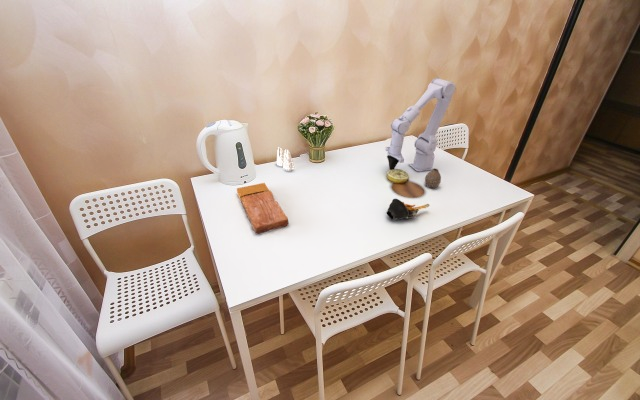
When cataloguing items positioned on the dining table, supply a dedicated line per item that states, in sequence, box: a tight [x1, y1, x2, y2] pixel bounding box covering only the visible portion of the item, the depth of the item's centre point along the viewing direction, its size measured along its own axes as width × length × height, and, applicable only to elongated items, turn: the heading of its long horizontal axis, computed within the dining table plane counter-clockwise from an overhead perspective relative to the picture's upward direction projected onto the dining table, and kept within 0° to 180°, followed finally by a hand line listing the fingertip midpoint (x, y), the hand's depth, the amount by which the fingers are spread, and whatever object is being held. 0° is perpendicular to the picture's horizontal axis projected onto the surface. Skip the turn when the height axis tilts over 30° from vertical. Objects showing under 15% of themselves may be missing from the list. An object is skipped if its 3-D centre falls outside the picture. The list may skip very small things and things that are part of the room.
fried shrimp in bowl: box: [386, 198, 430, 221], centre depth 116 cm, size 9×11×18 cm
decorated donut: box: [386, 168, 410, 184], centre depth 141 cm, size 10×11×4 cm
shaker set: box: [276, 146, 296, 172], centre depth 146 cm, size 12×4×11 cm, turn 38°
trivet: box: [391, 180, 425, 199], centre depth 135 cm, size 15×15×1 cm
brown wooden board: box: [236, 182, 289, 235], centre depth 117 cm, size 13×30×3 cm, turn 26°
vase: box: [424, 168, 442, 189], centre depth 136 cm, size 7×7×9 cm
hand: (391, 169), depth 147 cm, fingers closed
